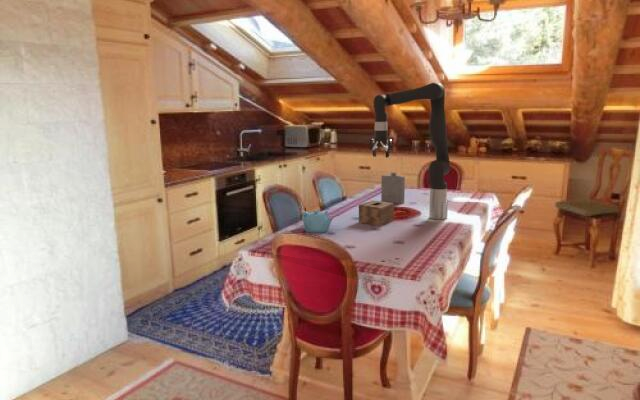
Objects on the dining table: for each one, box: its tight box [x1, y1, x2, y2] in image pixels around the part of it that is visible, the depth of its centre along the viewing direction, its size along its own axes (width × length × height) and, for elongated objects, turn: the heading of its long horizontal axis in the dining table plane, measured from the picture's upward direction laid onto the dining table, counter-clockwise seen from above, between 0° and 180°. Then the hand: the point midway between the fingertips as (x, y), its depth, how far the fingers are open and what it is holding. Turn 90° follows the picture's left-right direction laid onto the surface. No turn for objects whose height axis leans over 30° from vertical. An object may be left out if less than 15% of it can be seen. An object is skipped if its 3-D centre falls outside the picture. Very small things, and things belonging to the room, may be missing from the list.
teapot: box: [301, 209, 333, 234], centre depth 252 cm, size 15×15×11 cm
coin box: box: [358, 199, 395, 227], centre depth 267 cm, size 14×14×10 cm
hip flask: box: [380, 171, 406, 205], centre depth 314 cm, size 16×4×20 cm, turn 60°
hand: (380, 157), depth 284 cm, fingers open, 8 cm apart
